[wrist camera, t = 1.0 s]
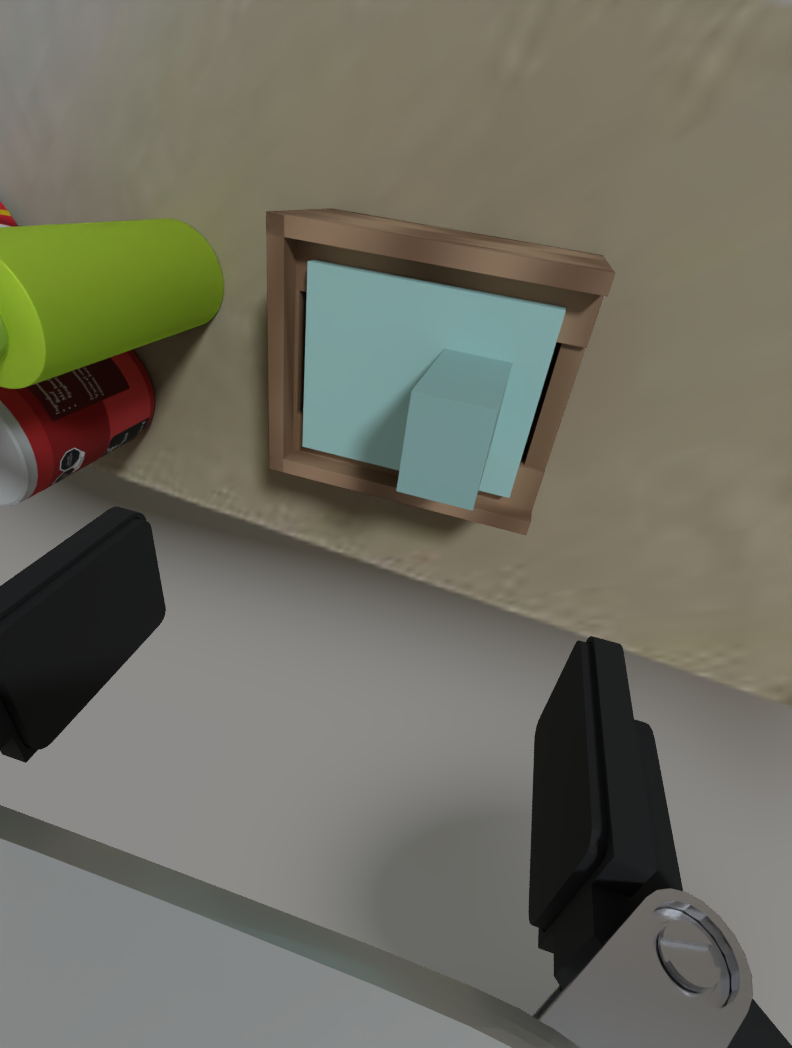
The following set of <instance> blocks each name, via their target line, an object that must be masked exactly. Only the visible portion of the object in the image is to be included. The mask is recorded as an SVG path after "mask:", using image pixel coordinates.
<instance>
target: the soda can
mask: <svg viewBox="0 0 792 1048" xmlns="http://www.w3.org/2000/svg"><path fill="white" fill-rule="evenodd" d="M0 227H18V226H17V224H16V222H15V221H14V219H13V218H12V216H11V214H10V213H9V212H8V210H7V209H6V208H5V207H4V205H3V204H2V203H1V202H0Z"/></svg>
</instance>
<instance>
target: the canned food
mask: <svg viewBox="0 0 792 1048" xmlns="http://www.w3.org/2000/svg"><path fill="white" fill-rule="evenodd" d="M154 409H155V397H154V390H153V386H152V383H151V380H150V378H149V375H148V373H147V371H146V369H145V367H144V366H143V364H142V362H141V361H140V360H139V358H138V357H137V356H136V355H135V353H134V352H133V351H132V350H130V351H127V352H124V353H121V354H118V355H115V356H113V357H110V358H107V359H104V360H101V361H98V362H96V363H93V364H90V365H87V366H84V367H81V368H79V369H76V370H73V371H70V372H67V373H64V374H62V375H59V376H56V377H53V378H50V379H47V380H45V381H42V382H39V383H36V384H33V385H30V386H28V387H24V388H19V389H10V388H4V387H0V506H1V507H4V506H12V505H14V504H16V503H18V502H21V501H23V500H26V499H28V498H30V497H31V496H33V495H35V494H37V493H38V492H41V491H42V490H45V489H46V488H48V487H50V486H52V485H53V484H55V483H57V482H59V481H60V480H62V479H64V478H66V477H67V476H69V475H71V474H73V473H74V472H76V471H78V470H80V469H81V468H83V467H85V466H87V465H88V464H90V463H92V462H94V461H95V460H97V459H99V458H101V457H103V456H104V455H106V454H108V453H110V452H111V451H113V450H115V449H117V448H118V447H120V446H122V445H124V444H125V443H127V442H129V441H131V440H132V439H134V438H136V437H138V436H139V435H140V434H141V433H142V432H143V431H144V430H145V428H146V427H147V426H148V424H149V423H150V421H151V419H152V417H153V414H154Z"/></svg>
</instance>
